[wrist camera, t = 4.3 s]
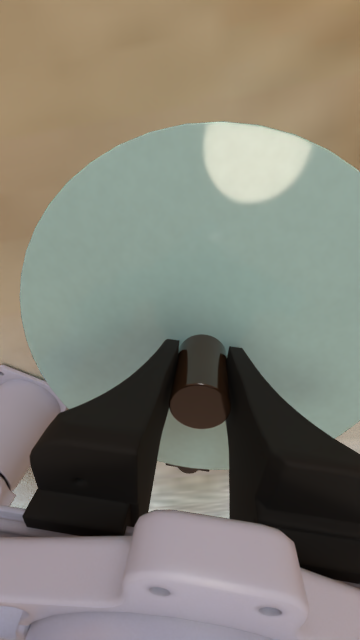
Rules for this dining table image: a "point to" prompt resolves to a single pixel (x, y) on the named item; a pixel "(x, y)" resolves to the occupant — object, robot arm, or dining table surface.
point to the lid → (202, 277)
